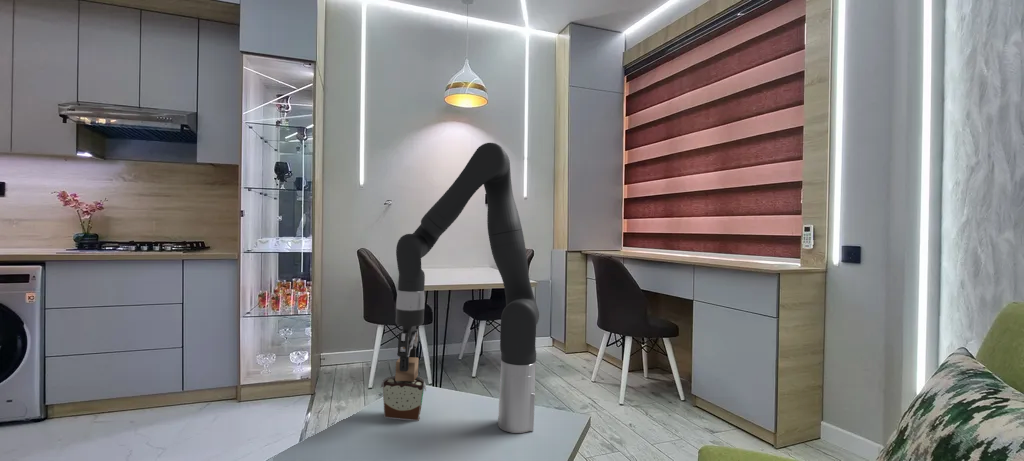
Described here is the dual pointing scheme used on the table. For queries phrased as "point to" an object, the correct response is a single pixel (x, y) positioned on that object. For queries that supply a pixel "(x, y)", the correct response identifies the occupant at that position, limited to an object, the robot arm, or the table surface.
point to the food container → (403, 398)
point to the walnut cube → (409, 374)
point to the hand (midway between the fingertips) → (407, 366)
